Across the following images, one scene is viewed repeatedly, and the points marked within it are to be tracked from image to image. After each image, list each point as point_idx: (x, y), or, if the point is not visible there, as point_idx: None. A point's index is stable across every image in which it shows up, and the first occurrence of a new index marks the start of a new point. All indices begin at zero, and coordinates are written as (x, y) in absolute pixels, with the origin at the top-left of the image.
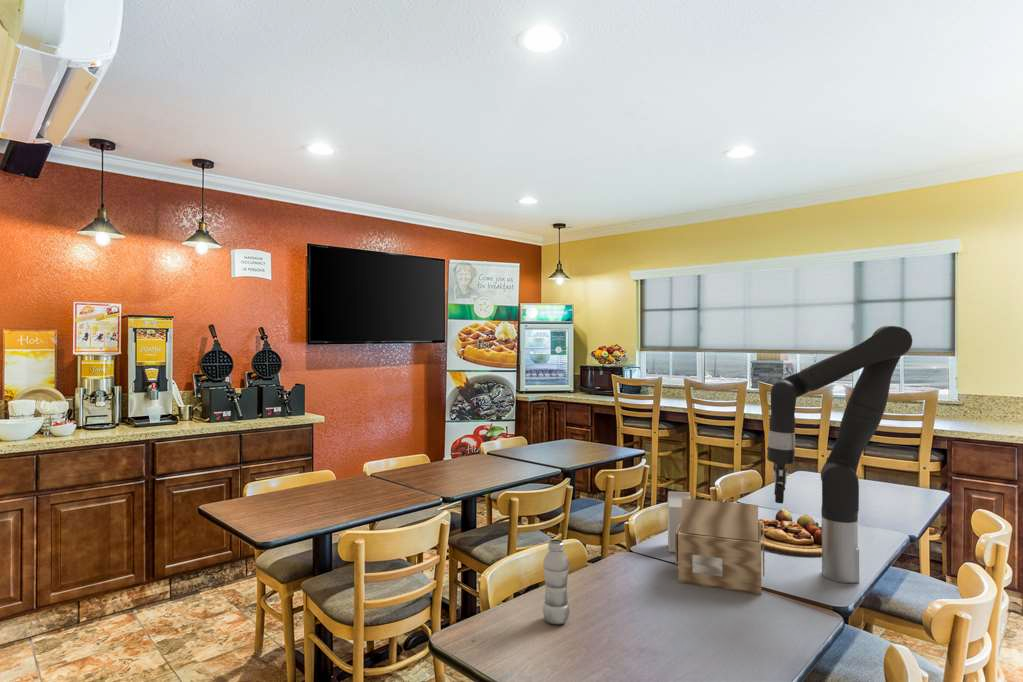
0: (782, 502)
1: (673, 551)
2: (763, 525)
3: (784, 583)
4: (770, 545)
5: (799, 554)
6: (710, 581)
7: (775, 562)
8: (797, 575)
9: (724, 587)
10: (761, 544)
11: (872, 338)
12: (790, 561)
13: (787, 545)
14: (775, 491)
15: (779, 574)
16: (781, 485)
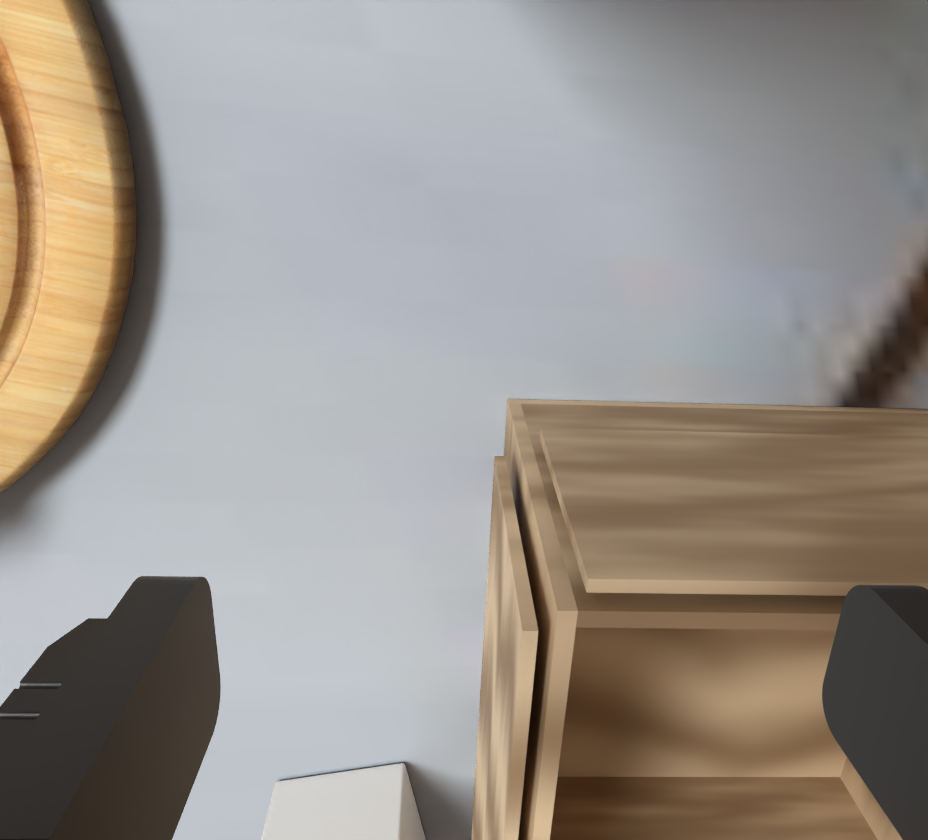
0: (914, 600)
1: (424, 837)
2: (669, 584)
3: (760, 262)
4: (93, 339)
5: (116, 94)
6: None
7: (358, 300)
8: (582, 155)
9: None
10: (82, 402)
11: None
12: (286, 184)
13: (5, 194)
14: (185, 771)
15: (598, 286)
16: (76, 833)
